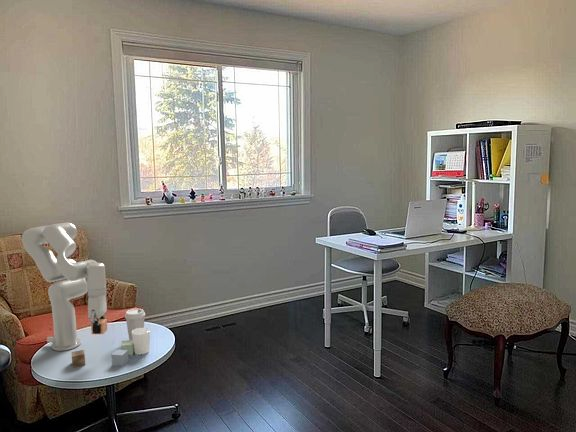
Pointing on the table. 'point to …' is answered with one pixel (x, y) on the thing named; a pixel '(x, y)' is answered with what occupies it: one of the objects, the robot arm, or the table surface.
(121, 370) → the table surface
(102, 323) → the terracotta block
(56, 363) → the table surface
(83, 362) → the walnut block
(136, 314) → the coffee cup
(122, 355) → the slate block
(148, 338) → the white cup
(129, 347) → the sage block
